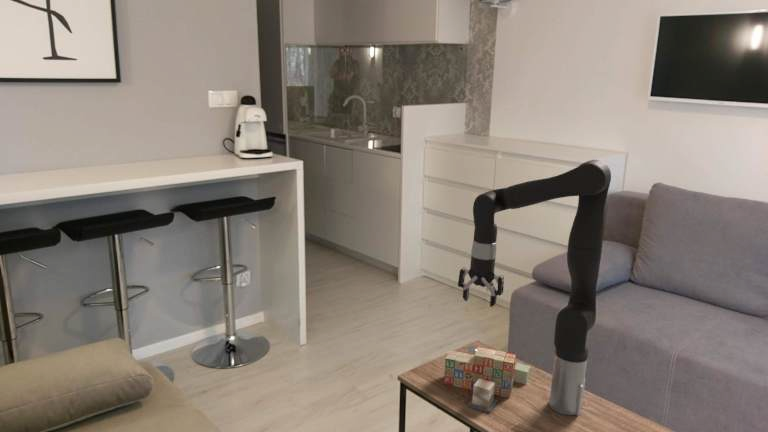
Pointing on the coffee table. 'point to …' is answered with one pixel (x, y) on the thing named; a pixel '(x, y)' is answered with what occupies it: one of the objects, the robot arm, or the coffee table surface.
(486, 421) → the coffee table surface
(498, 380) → the stack of blocks
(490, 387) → the cream block
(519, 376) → the sage green block
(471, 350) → the grey capsule
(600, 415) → the coffee table surface
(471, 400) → the charcoal pad
